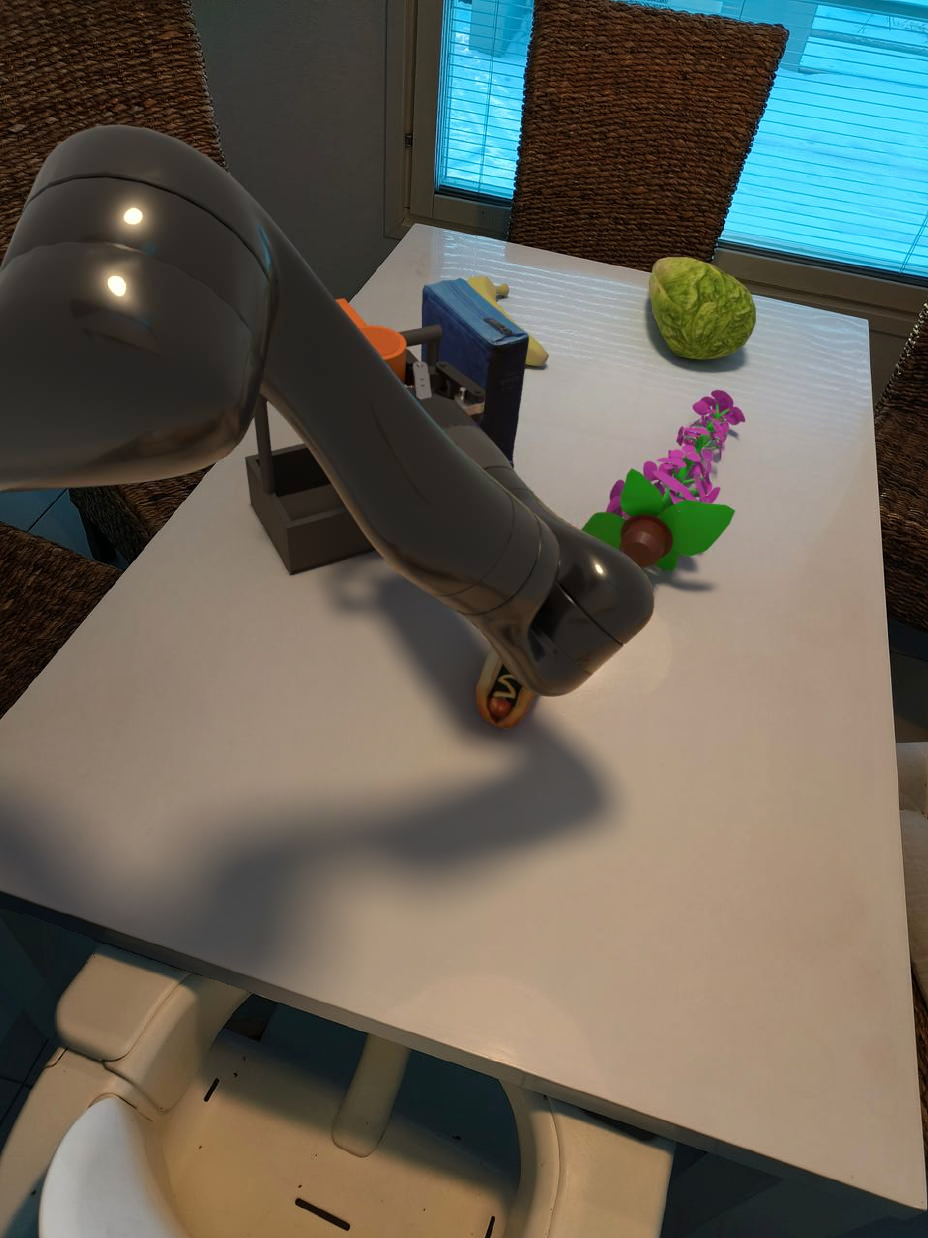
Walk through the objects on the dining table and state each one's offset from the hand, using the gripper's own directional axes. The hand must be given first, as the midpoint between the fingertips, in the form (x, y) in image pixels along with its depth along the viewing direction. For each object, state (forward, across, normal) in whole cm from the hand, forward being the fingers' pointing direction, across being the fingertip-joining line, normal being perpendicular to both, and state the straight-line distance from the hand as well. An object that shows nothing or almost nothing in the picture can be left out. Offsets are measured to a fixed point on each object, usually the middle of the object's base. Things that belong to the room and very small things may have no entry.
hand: (359, 360), depth 73 cm
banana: (+31, -35, +19) cm, 51 cm away
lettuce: (+22, -60, +20) cm, 67 cm away
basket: (+3, 0, +19) cm, 19 cm away
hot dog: (-24, -4, +20) cm, 31 cm away
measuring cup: (0, 0, +6) cm, 6 cm away
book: (+5, -14, +20) cm, 24 cm away
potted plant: (-8, -34, +20) cm, 40 cm away
